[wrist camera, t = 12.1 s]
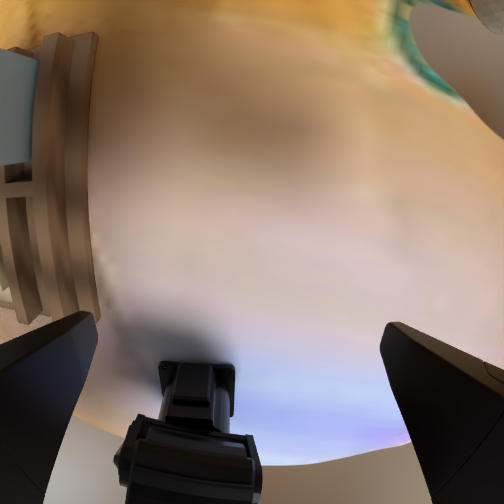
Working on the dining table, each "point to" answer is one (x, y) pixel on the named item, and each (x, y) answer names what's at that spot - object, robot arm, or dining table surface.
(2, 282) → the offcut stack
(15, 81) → the light blue block
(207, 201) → the dining table surface
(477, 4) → the house plant
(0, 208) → the rack
